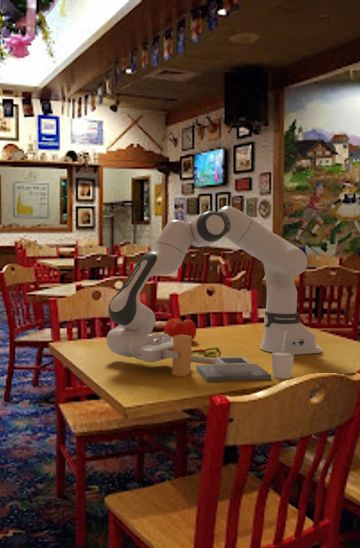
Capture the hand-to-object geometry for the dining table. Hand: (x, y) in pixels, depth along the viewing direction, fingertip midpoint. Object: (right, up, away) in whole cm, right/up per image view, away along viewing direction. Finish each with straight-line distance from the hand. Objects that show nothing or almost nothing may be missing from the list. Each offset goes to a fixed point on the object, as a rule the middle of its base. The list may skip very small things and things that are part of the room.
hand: (184, 354), depth 197 cm
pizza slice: (+8, -5, +28) cm, 29 cm away
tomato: (-1, -2, +51) cm, 51 cm away
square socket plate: (+15, -7, +3) cm, 17 cm away
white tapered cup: (+30, -7, +3) cm, 31 cm away
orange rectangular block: (-1, -6, +1) cm, 7 cm away
